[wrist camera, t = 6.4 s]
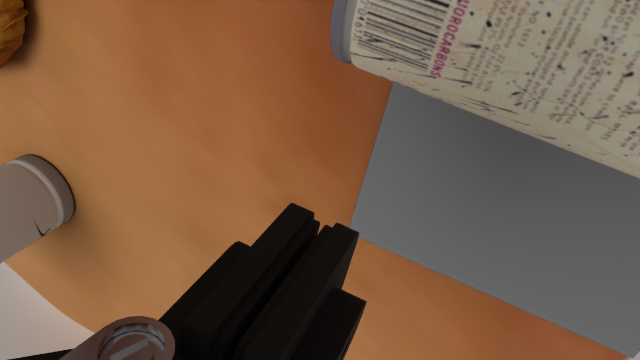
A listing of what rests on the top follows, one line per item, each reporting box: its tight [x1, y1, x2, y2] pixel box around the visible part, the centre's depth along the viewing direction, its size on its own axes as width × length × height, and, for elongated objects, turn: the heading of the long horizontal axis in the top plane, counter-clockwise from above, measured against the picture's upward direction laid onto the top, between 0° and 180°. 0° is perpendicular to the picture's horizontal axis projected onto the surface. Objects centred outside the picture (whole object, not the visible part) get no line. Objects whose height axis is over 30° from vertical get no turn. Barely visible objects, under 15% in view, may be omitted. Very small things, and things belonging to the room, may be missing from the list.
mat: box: [349, 82, 640, 358], centre depth 21 cm, size 20×16×1 cm
